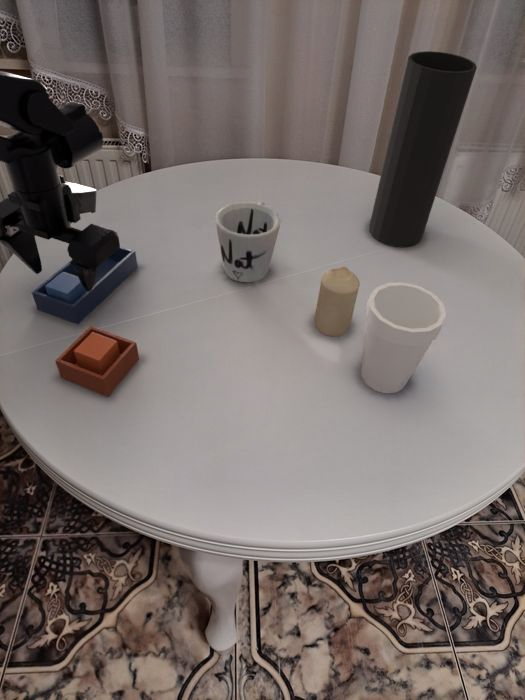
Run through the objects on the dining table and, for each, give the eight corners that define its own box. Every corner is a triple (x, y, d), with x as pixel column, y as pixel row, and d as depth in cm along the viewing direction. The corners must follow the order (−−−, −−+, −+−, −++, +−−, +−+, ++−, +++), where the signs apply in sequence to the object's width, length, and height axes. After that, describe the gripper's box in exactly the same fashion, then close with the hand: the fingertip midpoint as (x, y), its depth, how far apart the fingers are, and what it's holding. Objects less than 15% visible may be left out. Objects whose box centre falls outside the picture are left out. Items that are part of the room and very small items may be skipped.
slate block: (51, 306, 78) (44, 286, 75) (68, 291, 80) (62, 271, 77) (73, 314, 77) (67, 293, 74) (89, 299, 79) (84, 278, 76)
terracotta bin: (60, 377, 68) (54, 360, 66) (94, 342, 73) (90, 325, 71) (107, 396, 67) (103, 379, 64) (139, 359, 71) (136, 342, 69)
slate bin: (37, 309, 78) (31, 292, 75) (100, 255, 88) (97, 238, 86) (78, 324, 76) (73, 307, 73) (137, 267, 86) (135, 250, 84)
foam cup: (339, 360, 73) (355, 289, 64) (394, 346, 76) (417, 276, 67) (371, 409, 67) (395, 339, 58) (430, 392, 70) (461, 323, 61)
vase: (404, 215, 103) (450, 49, 82) (432, 242, 97) (491, 70, 75) (359, 222, 100) (395, 53, 79) (385, 251, 94) (432, 74, 72)
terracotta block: (79, 371, 69) (73, 350, 66) (97, 352, 71) (92, 331, 69) (104, 381, 68) (99, 360, 65) (121, 361, 70) (117, 340, 68)
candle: (309, 330, 78) (317, 278, 70) (320, 309, 81) (329, 257, 74) (343, 341, 76) (356, 288, 69) (353, 319, 80) (365, 267, 73)
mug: (207, 280, 85) (205, 228, 78) (234, 234, 95) (235, 184, 88) (267, 294, 83) (271, 241, 76) (288, 245, 93) (293, 195, 86)
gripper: (135, 173, 67) (147, 269, 78) (22, 142, 72) (49, 237, 83) (82, 212, 60) (104, 311, 71) (-40, 175, 65) (-1, 274, 76)
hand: (64, 280), depth 75 cm, fingers open, 9 cm apart
